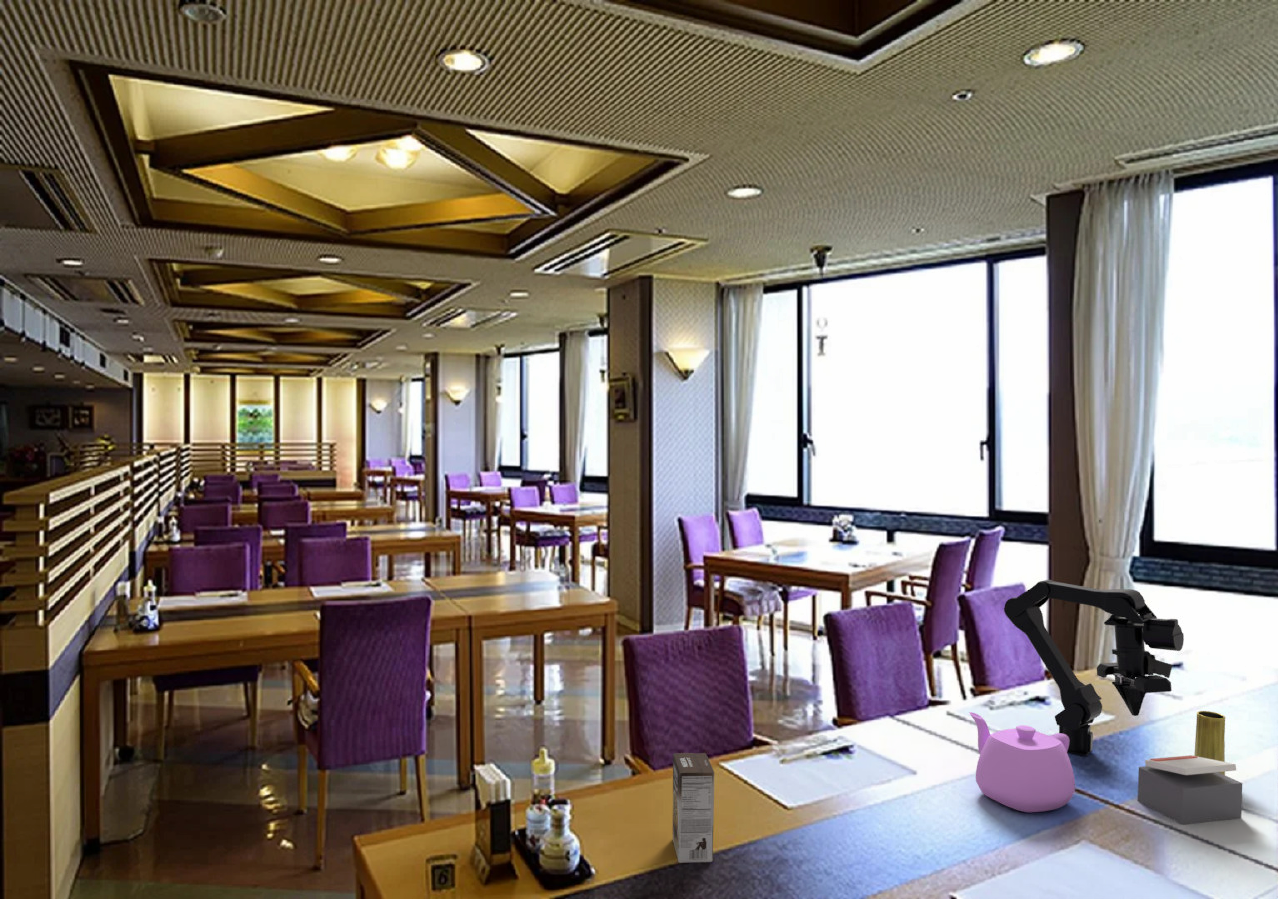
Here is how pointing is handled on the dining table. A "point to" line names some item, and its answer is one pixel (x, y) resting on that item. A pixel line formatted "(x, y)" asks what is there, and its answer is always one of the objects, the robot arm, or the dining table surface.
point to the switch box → (1190, 795)
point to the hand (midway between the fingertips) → (1135, 715)
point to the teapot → (1024, 767)
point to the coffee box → (693, 807)
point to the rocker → (1190, 765)
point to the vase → (1210, 736)
